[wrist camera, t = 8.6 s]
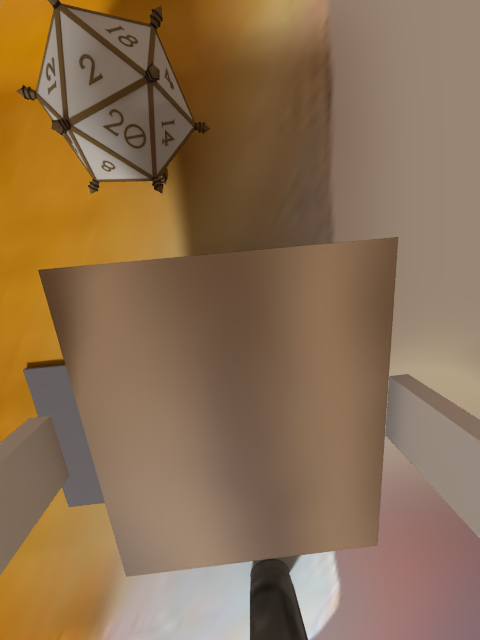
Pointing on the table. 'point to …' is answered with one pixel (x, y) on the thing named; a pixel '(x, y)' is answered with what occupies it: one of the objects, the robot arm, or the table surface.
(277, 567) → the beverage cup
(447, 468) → the robot arm
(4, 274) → the table surface
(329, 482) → the brown wooden block
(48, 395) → the mat
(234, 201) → the table surface
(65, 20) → the game die
